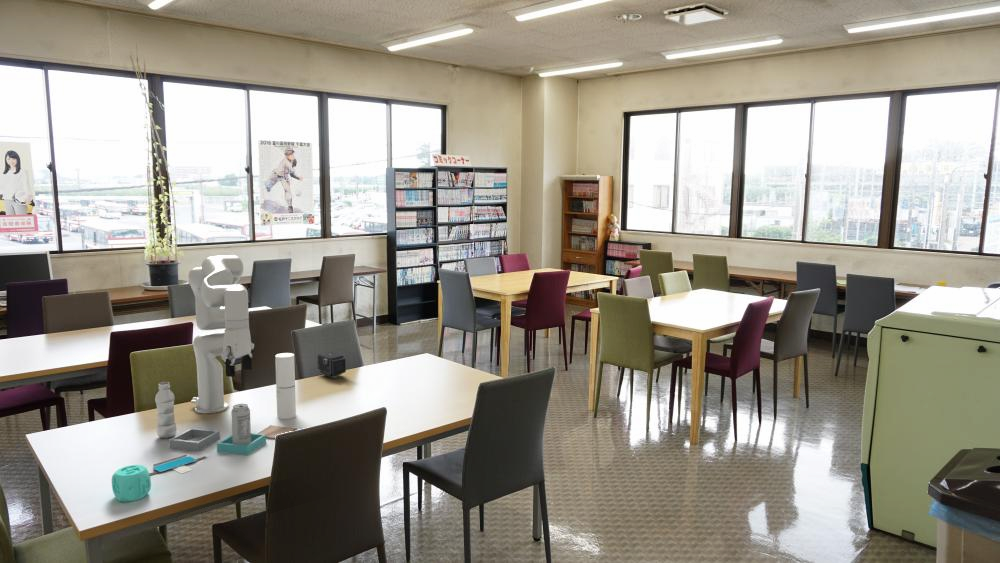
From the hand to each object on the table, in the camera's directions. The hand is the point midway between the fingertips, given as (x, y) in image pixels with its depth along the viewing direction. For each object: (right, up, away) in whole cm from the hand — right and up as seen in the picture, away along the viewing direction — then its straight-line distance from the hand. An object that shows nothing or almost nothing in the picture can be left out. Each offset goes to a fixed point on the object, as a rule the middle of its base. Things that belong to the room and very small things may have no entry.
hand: (239, 372), depth 229 cm
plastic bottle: (-31, -25, +13) cm, 42 cm away
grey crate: (-18, -26, +7) cm, 32 cm away
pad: (+7, -25, +17) cm, 31 cm away
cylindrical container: (+5, -23, +36) cm, 43 cm away
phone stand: (-15, -30, -13) cm, 36 cm away
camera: (+8, -15, +93) cm, 95 cm away
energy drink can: (0, -27, +4) cm, 27 cm away
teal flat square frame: (0, -27, +4) cm, 27 cm away
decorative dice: (-18, -32, -34) cm, 50 cm away
